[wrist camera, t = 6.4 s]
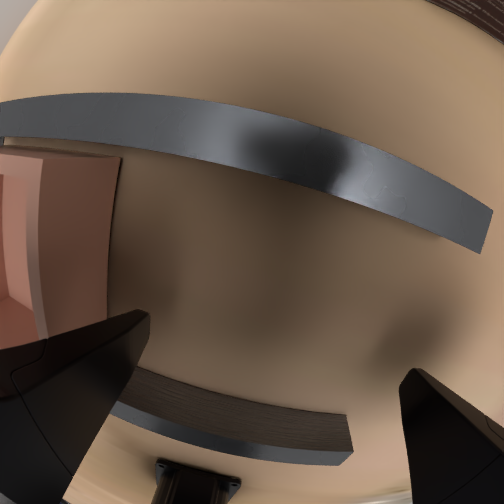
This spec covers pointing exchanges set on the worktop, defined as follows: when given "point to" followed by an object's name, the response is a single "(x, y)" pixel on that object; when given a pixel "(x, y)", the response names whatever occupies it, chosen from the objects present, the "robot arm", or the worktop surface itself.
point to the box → (479, 14)
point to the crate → (53, 240)
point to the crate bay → (267, 163)
